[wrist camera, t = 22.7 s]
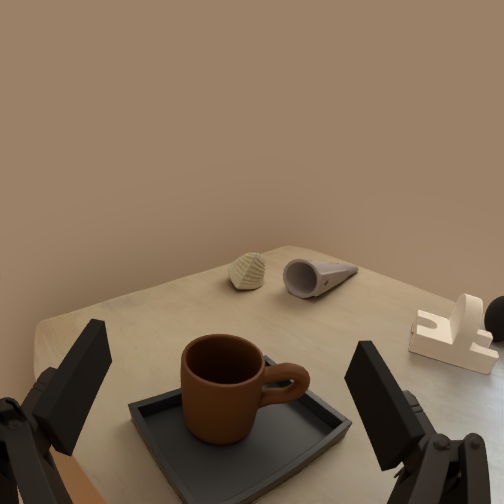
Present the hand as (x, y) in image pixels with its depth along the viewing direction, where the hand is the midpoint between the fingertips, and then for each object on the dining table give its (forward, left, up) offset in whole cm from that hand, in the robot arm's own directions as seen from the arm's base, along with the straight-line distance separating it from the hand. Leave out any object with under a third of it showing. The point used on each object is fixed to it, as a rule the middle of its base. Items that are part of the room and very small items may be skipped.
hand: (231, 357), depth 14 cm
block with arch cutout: (+28, +37, -17) cm, 49 cm away
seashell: (-17, +42, -17) cm, 49 cm away
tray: (-1, +7, -17) cm, 19 cm away
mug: (-2, +8, -17) cm, 19 cm away
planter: (-2, +55, -17) cm, 57 cm away
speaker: (+43, +46, -17) cm, 65 cm away
